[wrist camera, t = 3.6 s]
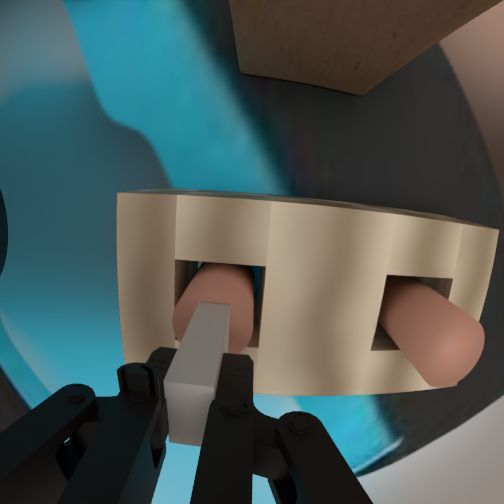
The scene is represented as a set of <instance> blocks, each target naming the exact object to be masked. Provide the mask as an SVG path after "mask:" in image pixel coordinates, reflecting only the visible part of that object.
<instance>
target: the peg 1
mask: <svg viewBox="0 0 504 504" xmlns="http://www.w3.org/2000/svg"><path fill="white" fill-rule="evenodd" d="M199 302H203V303H214V304H226V305H231V309H230V327H229V345H228V353H233V354H239V353H240V352H241V351H242V350H243V349H244V348H245V347H246V346H247V345H248V343H249V341H250V339H251V337H252V333H253V306H254V273H253V269H252V267H251V265H241V264H228V263H215V262H203V263H202V264H201V266H200V267H199V269H198V271H197V272H196V274H195V275H194V277H193V279H192V280H191V282H190V284H189V285H188V287H187V289H186V290H185V292H184V293H183V295H182V297H181V298H180V300H179V302H178V303H177V305H176V307H175V309H174V312H173V317H172V325H173V330H174V333H175V336H176V338H177V339H178V341H179V342H180V343H181V341H182V338H183V336H184V334H185V332H186V329H187V327H188V325H189V323H190V321H191V318H192V316H193V314H194V312H195V310H196V308H197V305H198V303H199Z"/></svg>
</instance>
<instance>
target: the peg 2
mask: <svg viewBox="0 0 504 504" xmlns="http://www.w3.org/2000/svg"><path fill="white" fill-rule="evenodd" d="M378 322H379V323H380V324H381V326H382V327H383V328H384V329H385V331H386V332H387V333H388V334H389V336H390V337H391V338H392V339H393V341H394V342H395V343H396V344H397V346H398V347H399V348H400V349H401V351H402V352H403V353H404V355H405V356H406V357H407V358H408V360H409V361H410V362H411V364H412V365H413V366H414V367H415V369H416V370H417V371H418V373H419V374H420V375H421V377H422V378H423V379H424V381H425V382H426V383H427V384H428V385H430V386H432V387H437V388H441V387H447V386H450V385H452V384H454V383H456V382H458V381H459V380H461V379H462V378H463V377H465V376H466V375H467V374H468V373H469V372H470V371H471V370H472V368H473V367H474V366H475V364H476V363H477V361H478V359H479V357H480V355H481V353H482V350H483V346H484V331H483V328H482V326H481V324H480V323H479V322H478V321H477V320H475V319H474V318H473V317H471V316H470V315H469V314H467V313H466V312H464V311H463V310H462V309H460V308H459V307H457V306H456V305H455V304H453V303H452V302H450V301H449V300H447V299H446V298H445V297H443V296H442V295H440V294H439V293H437V292H436V291H435V290H433V289H432V288H430V287H429V286H427V285H426V284H424V283H423V282H421V281H420V280H418V279H417V278H415V277H414V276H402V275H388V276H387V277H386V281H385V287H384V292H383V297H382V302H381V307H380V311H379V316H378Z"/></svg>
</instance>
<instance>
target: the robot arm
mask: <svg viewBox="0 0 504 504" xmlns="http://www.w3.org/2000/svg"><path fill="white" fill-rule="evenodd" d="M7 246H8V225H7V216H6V209H5V204H4V200H3V196H2V193H1V190H0V275H1V273H2V270H3V267H4V264H5V260H6V254H7ZM230 309H231V305H226V304H214V303H203V302H199V303H198V305H197V308H196V310H195V312H194V314H193V316H192V318H191V321H190V323H189V325H188V327H187V329H186V332H185V334H184V336H183V338H182V341H181V343H180V345H179V347H178V349H176V348H168V347H159V348H157V349H156V350H154V351H153V352H152V353H151V355H150V357H149V358H148V360H147V362H146V363H141V362H133V363H127V364H125V365H123V366H121V367H120V368H118V370H117V375H118V381H119V388H120V392H119V394H118V395H117V396H112V397H96V396H95V393H94V391H93V389H92V388H90V387H89V386H87V385H84V384H70V385H66V386H64V387H62V388H61V389H59V390H58V391H57V392H55V393H54V394H52V395H51V396H50V397H48V398H47V399H46V400H44V401H43V402H42V403H40V404H39V405H38V406H36V407H35V408H34V409H32V410H31V411H29V412H28V413H27V414H25V415H24V416H23V417H21V418H20V419H19V420H17V421H16V422H15V423H13V424H12V425H11V426H9V427H8V428H7V429H5V430H4V431H2V432H1V433H0V504H151V502H152V498H153V495H154V491H155V488H156V485H157V481H158V478H159V475H160V471H161V468H162V464H163V461H164V458H165V455H166V443H165V441H166V438H167V435H169V442H172V443H179V444H185V445H193V446H200V447H201V450H200V455H199V460H198V465H197V470H196V475H195V480H194V485H193V490H192V495H191V501H190V504H252V475H253V474H255V475H259V476H262V477H265V478H268V483H269V485H270V488H271V491H272V494H273V496H274V499H275V501H276V504H373V503H372V501H371V499H370V498H369V496H368V495H367V493H366V492H365V491H364V489H363V487H362V486H361V484H360V483H359V481H358V479H357V478H356V476H355V475H354V473H353V472H352V470H351V468H350V467H349V465H348V464H347V462H346V461H345V459H344V457H343V456H342V454H341V453H340V451H339V450H338V448H337V446H336V445H335V443H334V442H333V440H332V438H331V437H330V435H329V434H328V432H327V430H326V429H325V427H324V426H323V424H322V422H321V421H320V420H319V419H318V418H317V417H316V416H314V415H312V414H310V413H306V412H302V411H293V412H289V413H285V414H284V415H282V416H281V417H280V418H279V419H276V418H273V417H270V416H267V415H264V414H263V413H261V412H259V411H258V410H257V409H256V407H255V406H254V403H253V376H254V362H253V360H252V359H251V357H250V356H249V355H245V354H233V353H228V345H229V327H230ZM68 438H70V439H69V440H68V441H67V442H65V441H66V440H67V439H68ZM64 442H65V443H64Z"/></svg>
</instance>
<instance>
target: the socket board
mask: <svg viewBox="0 0 504 504" xmlns="http://www.w3.org/2000/svg"><path fill="white" fill-rule="evenodd" d="M498 233H499V230H497V229H493V228H490V227H486V226H482V225H479V224H475V223H471V222H467V221H464V220H460V219H456V218H452V217H448V216H444V215H438V214H432V213H425V212H418V211H411V210H404V209H397V208H390V207H382V206H374V205H366V204H358V203H350V202H341V201H332V200H322V199H313V198H302V197H292V196H280V195H269V194H256V193H242V192H228V191H212V190H193V189H172V188H154V189H144V190H136V191H128V192H120V193H117V271H118V293H119V308H120V322H121V333H122V343H123V353H124V360H125V364H127V363H133V362H141V363H146V362H147V360H148V358H149V357H150V355H151V353H152V352H153V351H154V350H156V349H157V348H159V347H168V348H176V349H178V347H179V345H180V342H179V341H178V339H177V338H176V336H175V333H174V330H173V325H172V317H173V312H174V309H175V307H176V305H177V303H178V302H179V300H180V298H181V297H182V295H183V293H184V292H185V290H186V289H187V287H188V285H189V284H190V282H191V280H192V279H193V277H194V275H195V274H196V272H197V271H198V261H203V262H215V263H228V264H241V265H255V266H261V268H260V280H259V292H258V300H254V306H253V333H252V337H251V339H250V341H249V343H248V345H247V346H246V347H245V348H244V349H243V350H242V351H241V352H240V353H239V354H245V355H249V356H250V357H251V359H252V360H253V362H254V376H253V394H267V395H297V396H337V395H366V394H383V393H397V392H408V391H418V390H427V389H436V388H437V387H432V386H430V385H428V384H427V383H426V382H425V381H424V379H423V378H422V377H421V375H420V374H419V373H418V371H417V370H416V369H415V367H414V366H413V365H412V364H411V362H410V361H409V360H408V358H407V357H406V356H405V355H404V353H403V352H402V351H401V349H400V348H399V347H398V346H397V344H396V343H395V342H394V341H393V339H392V338H391V337H390V336H389V334H388V333H387V332H386V331H385V329H384V328H383V327H382V326H381V324H380V323H379V322H378V316H379V311H380V307H381V302H382V297H383V292H384V287H385V281H386V276H387V275H402V276H414V277H415V278H417V279H418V280H420V281H421V282H423V283H424V284H426V285H427V286H429V287H430V288H432V289H433V290H435V291H436V292H437V293H439V294H440V295H442V296H443V297H445V298H446V299H447V300H449V301H450V302H452V303H453V304H455V305H456V306H457V307H459V308H460V309H462V310H463V311H464V312H466V313H467V314H469V315H470V316H471V317H473V318H474V319H475V320H477V321H478V322H479V319H480V315H481V312H482V308H483V305H484V301H485V297H486V293H487V289H488V285H489V280H490V276H491V271H492V266H493V261H494V256H495V251H496V245H497V239H498ZM456 385H457V382H456V383H454V384H452V385H450V386H447V387H451V386H456ZM441 388H443V387H441Z"/></svg>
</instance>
